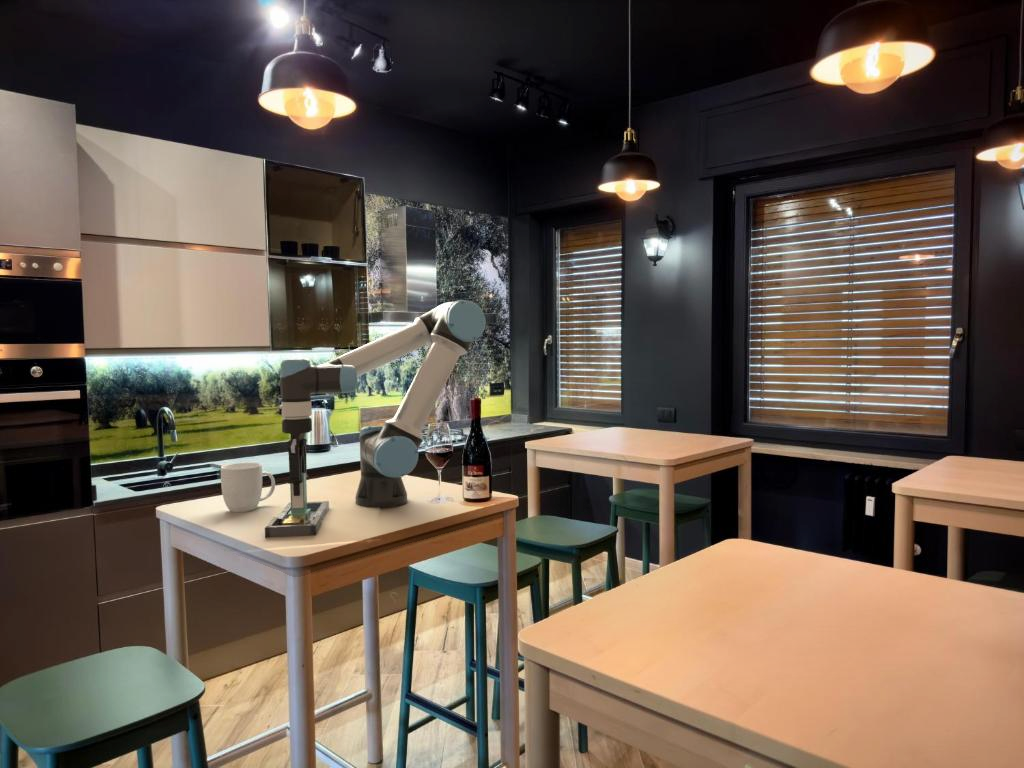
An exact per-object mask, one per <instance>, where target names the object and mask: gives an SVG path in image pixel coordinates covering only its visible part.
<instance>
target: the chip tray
mask: <svg viewBox="0 0 1024 768" xmlns="http://www.w3.org/2000/svg"><path fill="white" fill-rule="evenodd" d="M322 523H323V520H321V515H316V517H315V519H314V520H313V522H312V524H304V525H283V526H279V521H278V516H273V517H272V518H271V519H270V521H269V522H268V523H267V524H266V526H265V527H264V538H265V539H269V538H270V539H272V538H291V537H292V538H293V537H311V536H313V537H314V536H317V534H318V532H319V531H320V528H321V526H322Z"/></svg>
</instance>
